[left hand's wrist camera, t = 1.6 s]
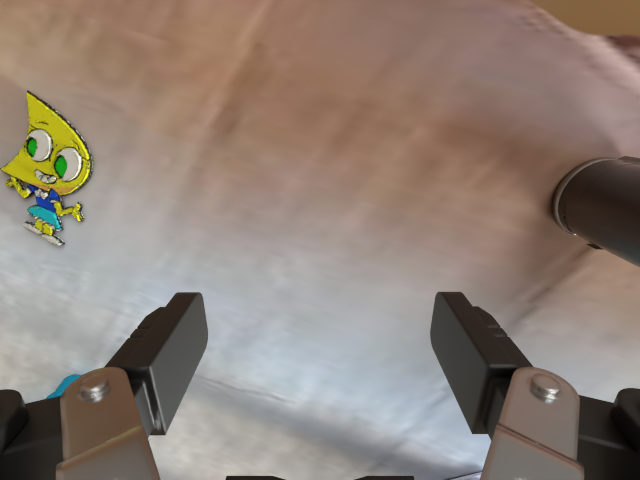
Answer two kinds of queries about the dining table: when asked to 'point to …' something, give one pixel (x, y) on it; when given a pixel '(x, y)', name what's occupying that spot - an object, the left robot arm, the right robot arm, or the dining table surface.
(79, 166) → the toy
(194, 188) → the dining table surface
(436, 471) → the dining table surface
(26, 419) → the left robot arm
